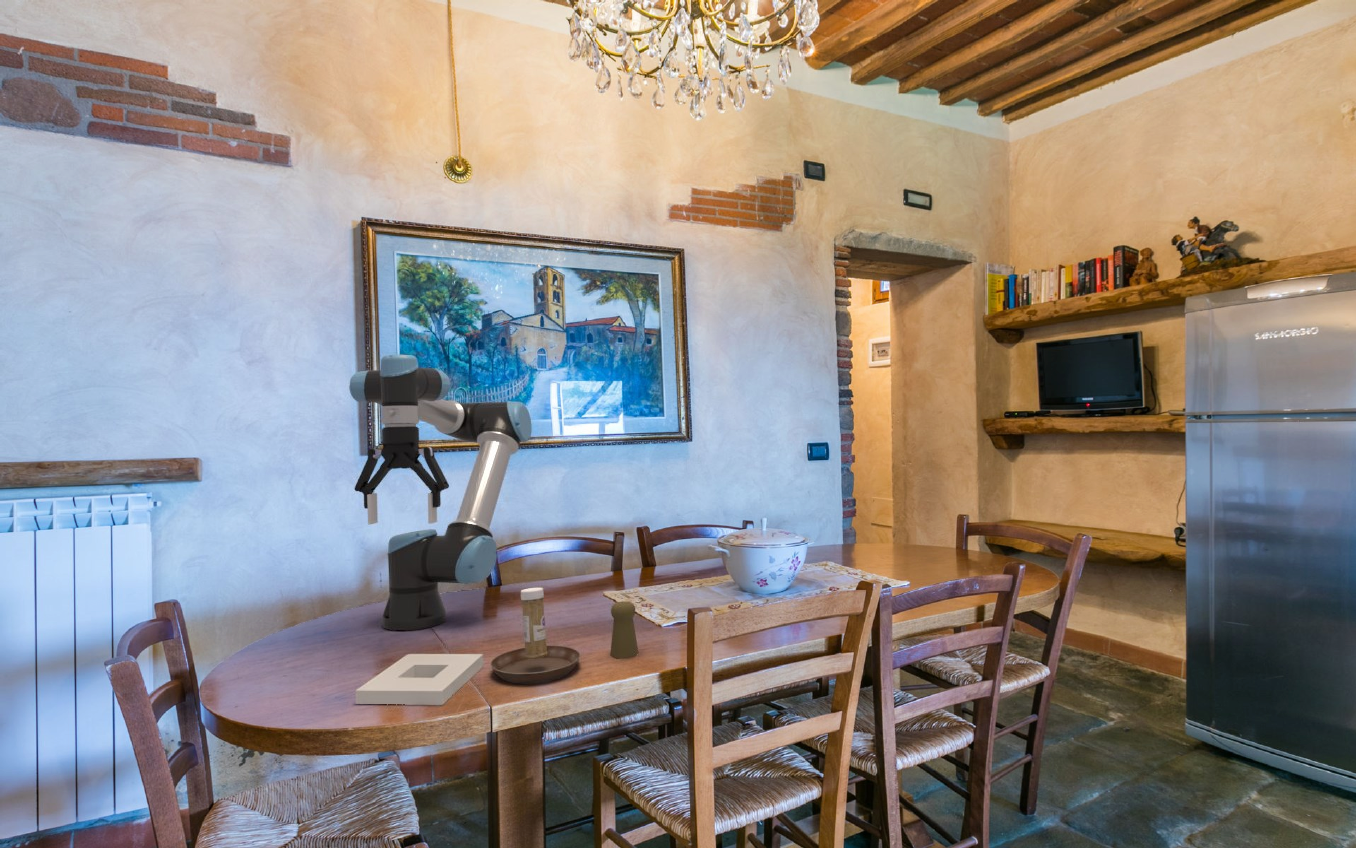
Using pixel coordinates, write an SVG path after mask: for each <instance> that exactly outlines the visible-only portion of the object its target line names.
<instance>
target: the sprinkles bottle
mask: <svg viewBox="0 0 1356 848" xmlns="http://www.w3.org/2000/svg"><path fill="white" fill-rule="evenodd" d="M544 593H545V592H544V588H543V587H529V588H525V589H522V590H520V599H521V603H522V604H521V607H522V626H523V627H522V629H523V640H524V648H525V653H526V654H525V657H526V658H528V659H537V658H541V657H544V656H546V655H547V647H546V646H547V633H546V632H547V630H546V629H547V628H546V619H545V617H546V616H545V610H544V609H545V608H544V607H545V606H544V596H545V594H544Z"/></svg>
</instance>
